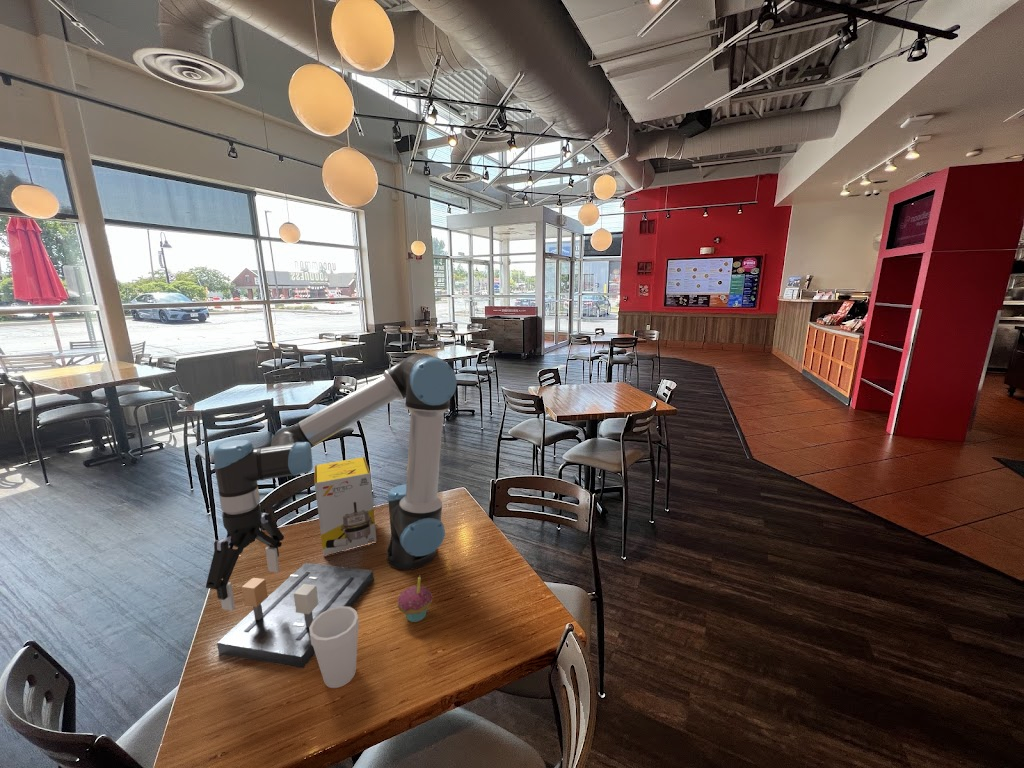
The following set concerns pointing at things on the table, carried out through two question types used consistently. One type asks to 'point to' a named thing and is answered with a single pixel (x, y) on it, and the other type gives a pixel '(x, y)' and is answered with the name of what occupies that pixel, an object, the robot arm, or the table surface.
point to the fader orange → (255, 595)
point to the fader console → (293, 616)
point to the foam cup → (336, 644)
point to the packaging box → (344, 504)
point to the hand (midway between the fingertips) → (252, 588)
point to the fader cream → (306, 601)
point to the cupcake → (415, 602)
